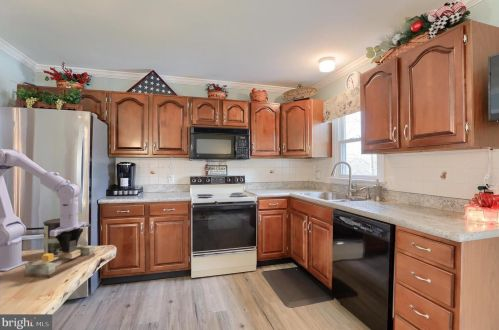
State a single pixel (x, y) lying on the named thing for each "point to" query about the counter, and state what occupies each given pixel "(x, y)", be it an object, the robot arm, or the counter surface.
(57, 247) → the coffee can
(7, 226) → the robot arm
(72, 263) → the rail board
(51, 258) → the button
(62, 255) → the carriage
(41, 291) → the counter surface
